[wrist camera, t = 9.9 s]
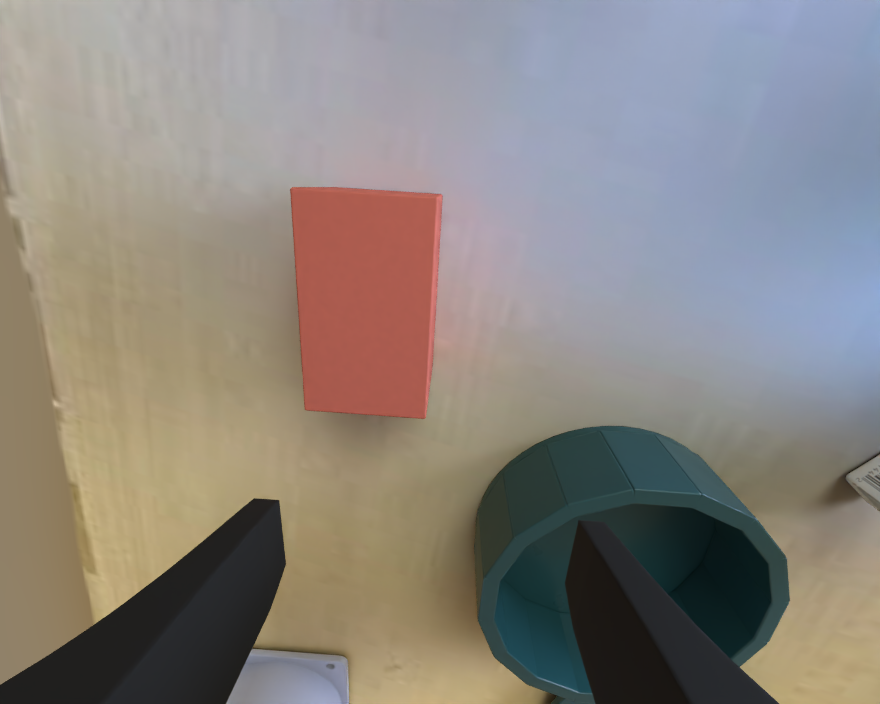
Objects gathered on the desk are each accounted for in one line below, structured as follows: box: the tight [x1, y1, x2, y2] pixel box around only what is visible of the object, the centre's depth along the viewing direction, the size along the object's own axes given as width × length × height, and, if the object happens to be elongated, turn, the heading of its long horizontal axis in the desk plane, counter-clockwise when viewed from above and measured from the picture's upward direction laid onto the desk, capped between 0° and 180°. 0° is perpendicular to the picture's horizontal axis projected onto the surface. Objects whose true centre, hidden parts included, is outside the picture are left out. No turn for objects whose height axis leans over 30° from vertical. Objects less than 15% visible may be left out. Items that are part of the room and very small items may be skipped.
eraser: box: [290, 187, 443, 419], centre depth 15 cm, size 7×4×4 cm, turn 176°
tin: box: [474, 426, 790, 704], centre depth 20 cm, size 12×12×4 cm
